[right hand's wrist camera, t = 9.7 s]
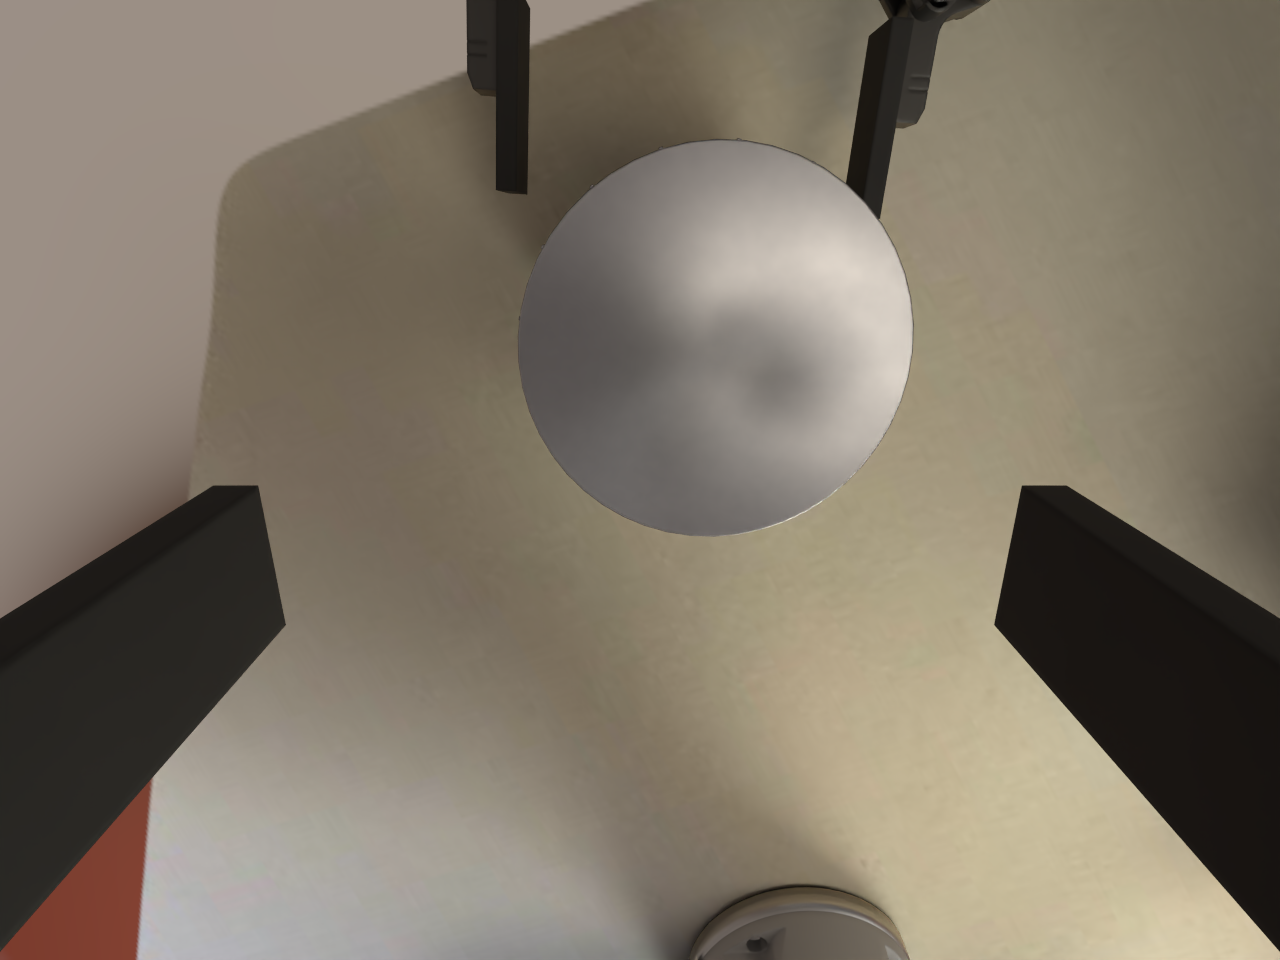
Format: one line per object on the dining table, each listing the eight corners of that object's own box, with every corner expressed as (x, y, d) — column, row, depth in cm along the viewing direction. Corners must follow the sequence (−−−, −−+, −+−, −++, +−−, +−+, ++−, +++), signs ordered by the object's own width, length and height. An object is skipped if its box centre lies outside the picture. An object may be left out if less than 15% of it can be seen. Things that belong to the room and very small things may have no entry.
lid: (956, 233, 21) (992, 234, 19) (795, 554, 24) (810, 586, 22) (601, 82, 19) (596, 64, 17) (485, 444, 23) (469, 467, 21)
